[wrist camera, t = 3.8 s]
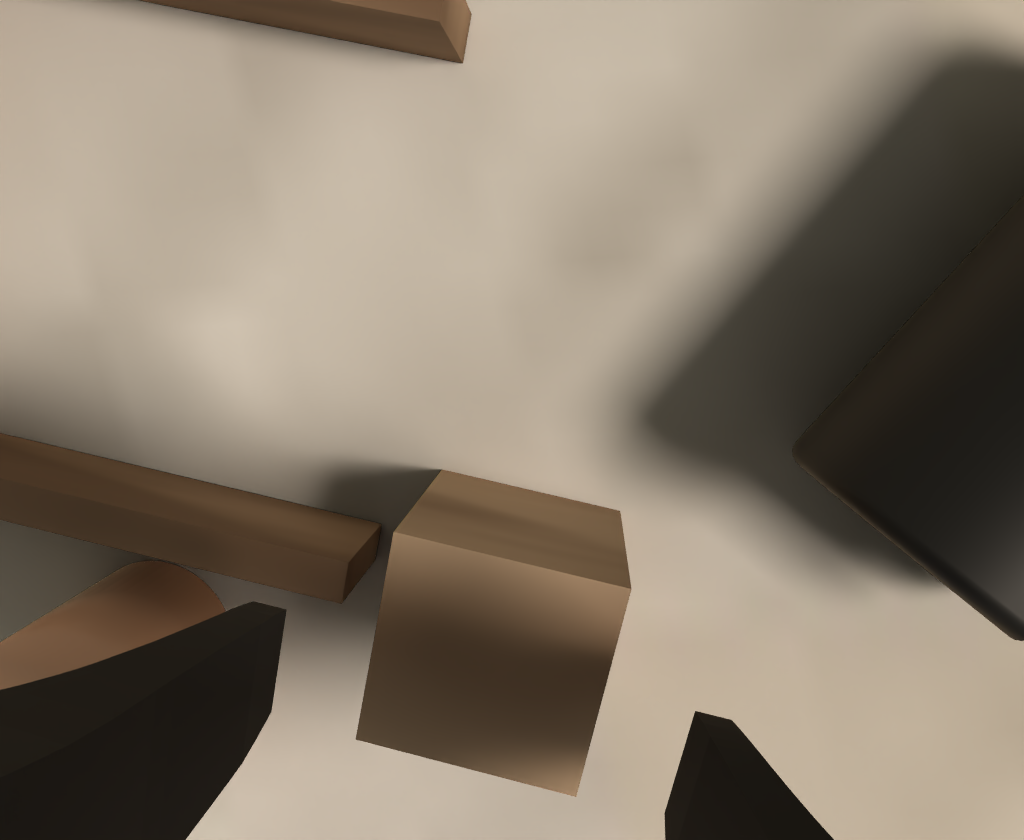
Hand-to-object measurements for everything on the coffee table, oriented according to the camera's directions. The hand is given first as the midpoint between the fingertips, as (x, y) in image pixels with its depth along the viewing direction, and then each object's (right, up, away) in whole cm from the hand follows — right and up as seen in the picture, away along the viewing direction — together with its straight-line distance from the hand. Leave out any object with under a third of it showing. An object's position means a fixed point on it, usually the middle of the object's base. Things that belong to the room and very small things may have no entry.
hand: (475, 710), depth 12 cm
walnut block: (+1, +1, +6) cm, 6 cm away
